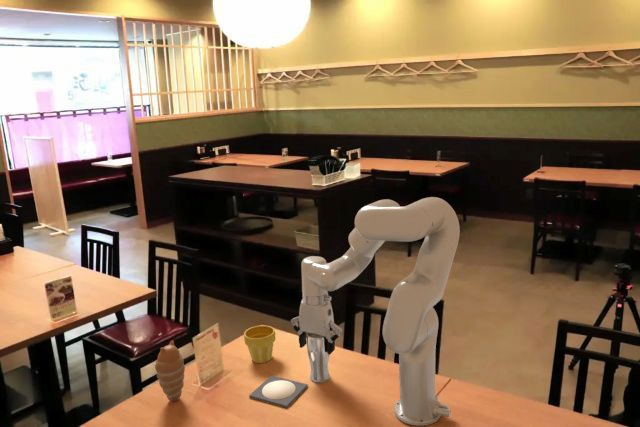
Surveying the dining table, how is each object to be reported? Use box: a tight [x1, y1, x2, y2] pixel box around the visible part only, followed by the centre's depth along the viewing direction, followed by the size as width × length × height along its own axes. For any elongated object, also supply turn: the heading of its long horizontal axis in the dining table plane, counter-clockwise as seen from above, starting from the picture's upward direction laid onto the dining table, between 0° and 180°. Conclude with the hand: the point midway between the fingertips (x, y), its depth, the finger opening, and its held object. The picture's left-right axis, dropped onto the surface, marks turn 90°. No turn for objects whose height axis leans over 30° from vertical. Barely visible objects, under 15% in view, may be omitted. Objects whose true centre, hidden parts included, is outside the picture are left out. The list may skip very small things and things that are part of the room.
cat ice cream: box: [154, 340, 186, 402], centre depth 154 cm, size 9×8×18 cm
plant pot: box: [243, 324, 276, 364], centre depth 177 cm, size 10×10×10 cm
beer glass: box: [306, 332, 331, 384], centre depth 162 cm, size 7×7×15 cm
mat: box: [248, 375, 309, 409], centre depth 157 cm, size 13×12×1 cm
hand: (316, 349), depth 162 cm, fingers open, 9 cm apart
